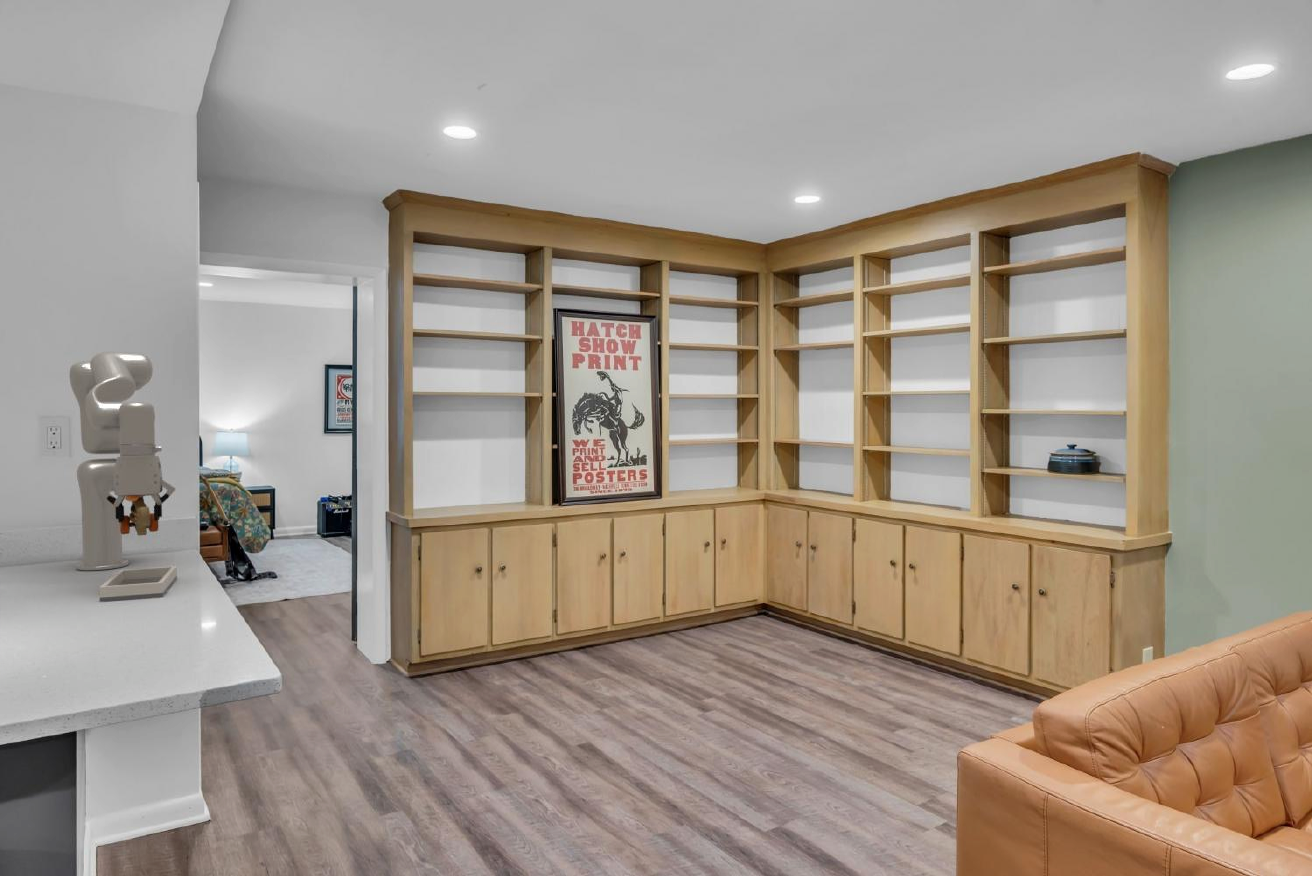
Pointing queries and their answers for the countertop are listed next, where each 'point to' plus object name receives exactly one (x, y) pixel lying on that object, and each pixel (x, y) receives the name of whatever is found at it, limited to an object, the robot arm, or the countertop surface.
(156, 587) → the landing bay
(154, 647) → the countertop surface
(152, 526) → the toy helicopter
